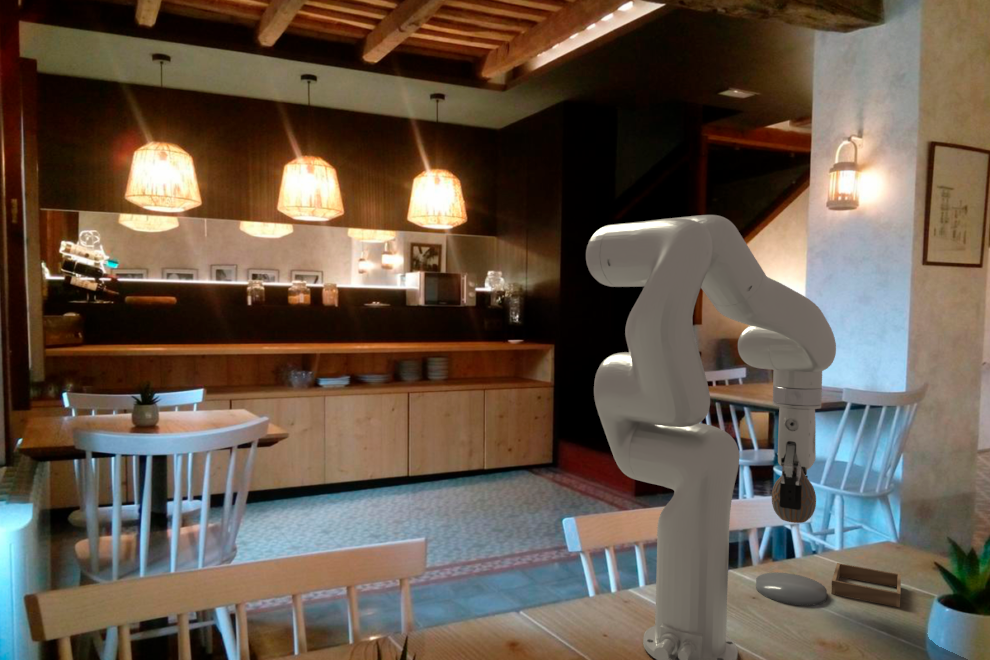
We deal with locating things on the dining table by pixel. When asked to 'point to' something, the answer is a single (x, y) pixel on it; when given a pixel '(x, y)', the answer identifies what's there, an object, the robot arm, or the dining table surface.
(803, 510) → the vase
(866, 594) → the holder
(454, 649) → the dining table surface
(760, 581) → the plate
